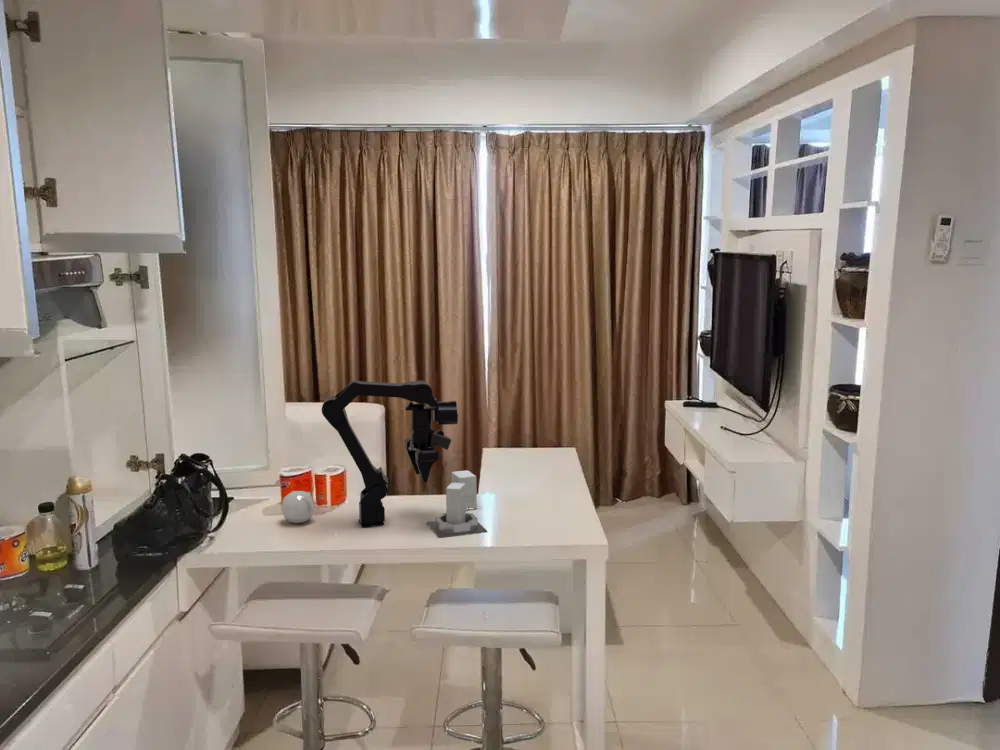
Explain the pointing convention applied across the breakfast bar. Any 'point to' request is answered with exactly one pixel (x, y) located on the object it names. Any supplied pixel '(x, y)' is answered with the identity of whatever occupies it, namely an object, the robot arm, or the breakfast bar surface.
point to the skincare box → (455, 503)
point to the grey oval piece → (298, 506)
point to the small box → (467, 487)
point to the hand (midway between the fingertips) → (421, 478)
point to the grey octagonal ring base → (455, 526)
